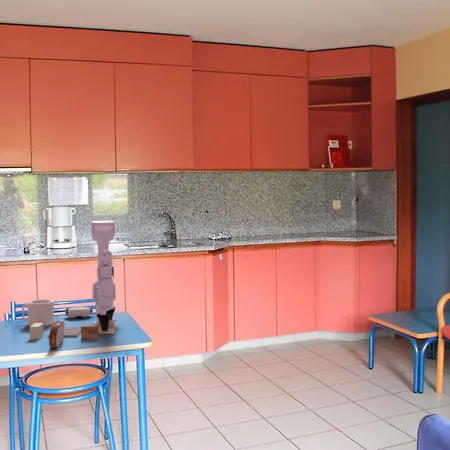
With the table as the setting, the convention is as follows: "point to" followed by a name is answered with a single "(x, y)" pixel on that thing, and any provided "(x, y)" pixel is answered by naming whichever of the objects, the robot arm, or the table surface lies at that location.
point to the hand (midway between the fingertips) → (106, 328)
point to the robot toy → (78, 311)
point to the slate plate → (71, 331)
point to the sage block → (36, 331)
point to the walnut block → (89, 331)
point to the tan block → (110, 328)
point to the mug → (40, 312)
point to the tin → (56, 334)
